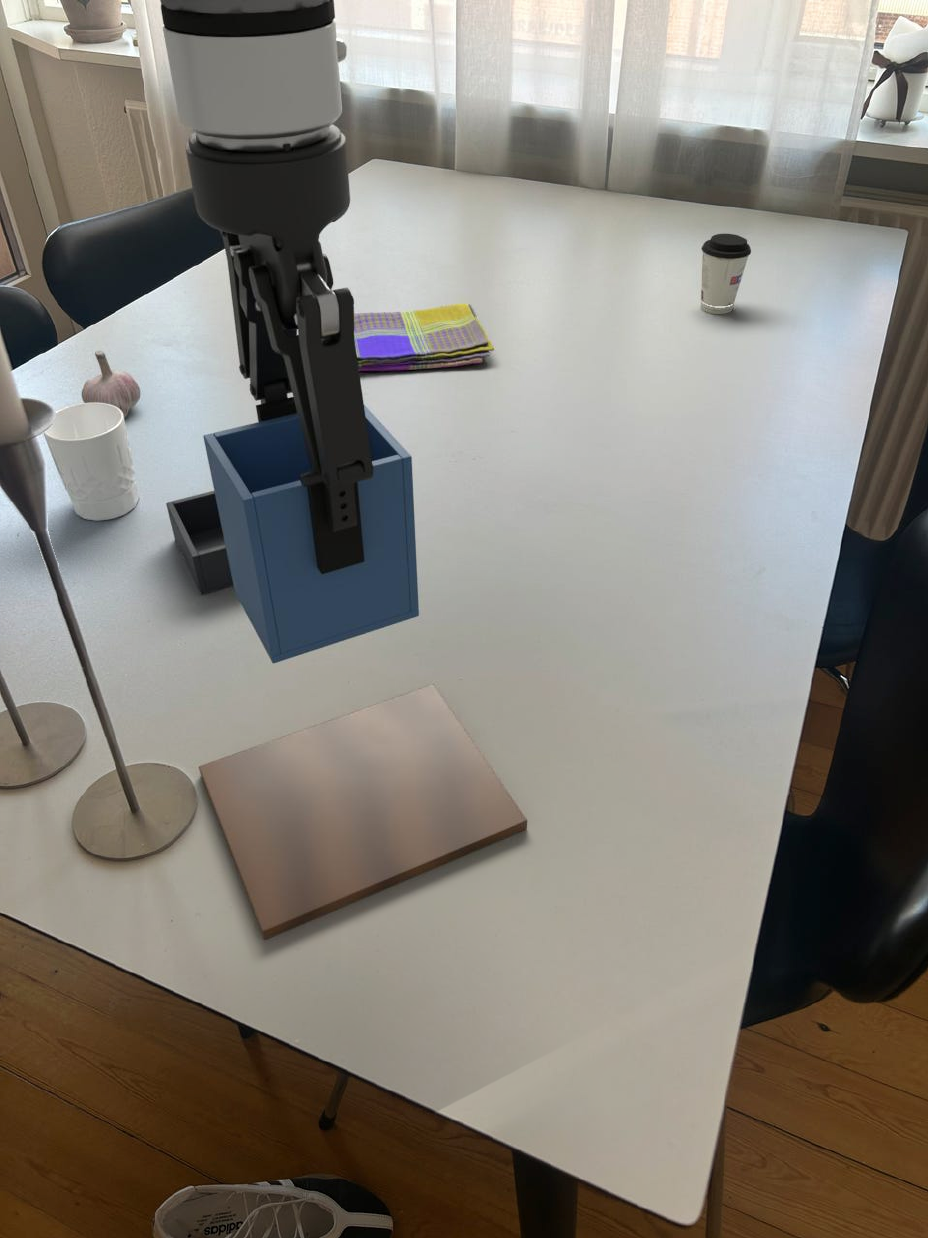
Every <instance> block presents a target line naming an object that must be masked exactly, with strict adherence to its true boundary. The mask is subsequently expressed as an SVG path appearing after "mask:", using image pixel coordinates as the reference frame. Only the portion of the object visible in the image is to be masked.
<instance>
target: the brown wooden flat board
mask: <svg viewBox="0 0 928 1238" xmlns="http://www.w3.org/2000/svg"><path fill="white" fill-rule="evenodd" d="M443 697H444V696H443V695H442V694H441V693H440V691H439V690H438V688H437V687H436V685H435V684H434V683H432V684H430V685H426V686H424V687H421V688H418V689H415V690H412V691H409V692H406V693H404V694H401V695H398V696H395V697H392V698H390V699H387V700H386V699H385V700H383V701H381V702H378V703H376V704H372V705H369V706H367V707H364V708H361V709H358V710H355V711H352V712H350V713H347V714H344V715H341V716H337V717H335V718H333V719H330V720H327V721H324V722H321V723H318V724H316V725H312V726H310V727H307V728H304V729H301V730H299V731H296V732H293V733H290V734H287V735H284V736H281V737H278V738H275V739H273V740H270V741H267V742H264V743H262V744H258V745H256V746H253V747H250V748H248V749H244V750H241V751H238V752H236V753H233V754H230V755H227V756H224V757H221V758H218V759H216V760H213V761H210V762H206V763H204V764H202V765H199V766H198V769H199V773H200V777H201V779H202V781H203V782H202V783H203V784H204V787H205V790H206V792H207V795H208V797H209V800H210V802H211V805H212V807H213V810H214V813H215V816H216V818H217V821H218V823H219V825H220V829H221V831H222V834H223V836H224V839H225V841H226V845H227V846H228V849H229V852H230V854H231V857H232V860H233V862H234V865H235V866H236V870H237V872H238V875H239V877H240V880H241V883H242V886H243V888H244V891H245V893H246V896H247V899H248V901H249V904H250V906H251V909H252V911H253V914H254V917H255V919H256V922H257V924H258V927H259V930H260V933H261V935H262V937H263V940H267V939H270V938H272V937H274V936H277V935H279V934H282V933H284V932H286V931H289V930H292V929H293V928H296V927H298V926H301V925H303V924H305V923H308V922H310V921H313V920H315V919H317V918H319V917H322V916H324V915H327V914H329V913H331V912H334V911H337V910H339V909H340V908H343V907H346V906H348V905H350V904H353V903H356V902H357V901H360V900H362V899H364V898H367V897H369V896H371V895H374V894H376V893H378V892H381V891H383V890H385V889H388V888H390V887H393V886H396V885H398V884H400V883H402V882H405V881H407V880H410V879H412V878H414V877H416V876H419V875H421V874H423V873H424V874H425V873H426V872H428V871H431V870H433V869H435V868H437V867H440V866H442V865H445V864H447V863H449V862H452V861H454V860H457V859H459V858H461V857H464V856H466V855H468V854H470V853H473V852H475V851H478V850H481V849H482V848H485V847H487V846H489V845H491V844H494V843H497V842H499V841H501V840H504V839H506V838H509V837H511V836H513V835H515V834H519V833H520V832H523V831H525V830H527V829H528V819H527V817H526V816H525V815H524V814H523V812H522V810H521V809H520V807H519V806H518V805H517V803H516V802H515V800H514V799H513V797H512V796H511V794H510V793H509V792H508V790H507V789H506V787H505V785H504V784H503V783H502V782H501V780H500V778H499V777H498V776H497V774H496V772H495V771H494V770H493V768H492V767H491V765H490V764H489V763H488V761H487V759H486V758H485V757H484V755H483V754H482V753H481V751H480V750H479V748H478V746H477V745H476V743H475V742H474V741H473V739H472V737H470V735H469V733H468V732H467V730H466V729H465V728H464V727H463V725H462V723H461V722H460V720H459V719H458V717H457V716H456V715H455V713H454V711H453V710H452V709H451V707H450V706H449V705H448V703H447V701H446V700H445V698H443Z"/></svg>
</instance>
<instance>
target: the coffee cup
mask: <svg viewBox="0 0 928 1238" xmlns="http://www.w3.org/2000/svg"><path fill="white" fill-rule="evenodd" d="M701 251H702V257H701V258H702V260H701V283H700V284H701V285H700V309H701V310H702V311H703V312H705V313H709V314H713V315H726V314H729V313H730V312H732V310H733V307H734V305H735V301H736V299H737V295H738V291H739V288H740V284H741V282H742V278H743V276H744V271H745V268H746V265H747V261H748V259H749V256H750V255H751V254H752V249H751V246H750V244H749V243H748V239H747V238H745V237H743V236H740V235H738V234H734V233H717V234H714V235H712V236H711V237H710V239H707V240H706V241H704V242H703V244H702V246H701ZM701 300H702V301H703V302H704V303H706V304H708V305H712V306H728V305H731V304H733V303H734V304H733V305H732V306H730V307H725V308H715V307H710V306H707V305H705V304H703V303H702V302H701Z"/></svg>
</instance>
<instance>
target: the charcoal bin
mask: <svg viewBox="0 0 928 1238" xmlns="http://www.w3.org/2000/svg"><path fill="white" fill-rule="evenodd" d="M165 505H166V509H167V514H168V518H169V521H170V526H171V529H172V534H173V537H174V541H175V543H176V545H177V547H178V549H179V551H180V554H181V555H182V557H183V560H184V562H185V564H186V566H187V568H188V570H189V572H190V575H191V577H192V580H193V581H194V583H195V585H196V588H197V590H198V591H199V593H200V595H201V596H202V595H206V594H209V593H213V592H217V591H219V590H224V589H226V588H231V587H234V585H233V580H232V575H231V570H230V565H229V560H228V555H227V550H226V546H225V541H224V536H223V531H222V526H221V521H220V516H219V511H218V506H217V501H216V496H215V492H214V490H211V491H207V492H204V493H203V492H202V493H200V494H195V495H192V496H188V497H184V498H180V499H176V500H172V501H168V502H166V504H165Z"/></svg>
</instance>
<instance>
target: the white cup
mask: <svg viewBox="0 0 928 1238" xmlns="http://www.w3.org/2000/svg"><path fill="white" fill-rule="evenodd" d="M55 412H56V420H55V422H54V424H53V425H52V426H51V427H50V428H49V429H48V430H47V431H45V432H44V433H43V436H44V438H45V441H46V443H47V446H48V450H49V451H50V454H51V457H52V460H53V462H54V465H55V467H56V469H57V472H58V475H59V478H60V480H61V482H62V485H63V486H64V490H65V491H66V492H67V495H68V496H69V500H70V502H71V505H72V507H73V510H74V513H75V514H76V515H77V516H79V517H80V518H83V519H84V520H89V521H97V522H100V521H108V520H113V519H116V518H119V517H122V516H125V515H127V514H128V513H129V512H131V511H132V510H133V509H134V508H136V506H137V504H138V502H139V500H140V497H139V491H138V487H137V483H136V477H135V476H136V472H135V466H134V461H133V456H132V450H131V445H130V439H129V435H128V430H127V427H126V422H125V418H124V416H123V413H122V411H121V410H120V409H119V408H117V407H116V406H113V405H110V404H106V403H84V402H83V403H77V404H72V405H69V406H65V407H63V408H61V409H59V410H56V411H55Z"/></svg>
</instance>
